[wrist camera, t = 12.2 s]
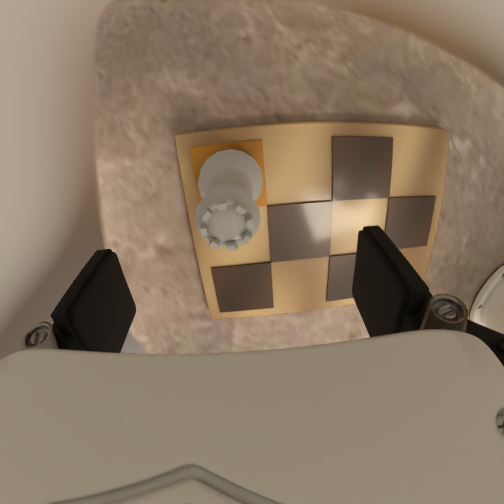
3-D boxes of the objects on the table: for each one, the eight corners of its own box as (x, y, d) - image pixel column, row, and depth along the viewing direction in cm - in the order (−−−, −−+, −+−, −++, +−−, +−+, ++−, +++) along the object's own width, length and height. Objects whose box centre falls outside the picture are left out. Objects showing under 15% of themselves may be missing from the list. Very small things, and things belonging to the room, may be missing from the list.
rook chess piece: (275, 178, 21) (294, 228, 14) (230, 218, 22) (228, 283, 15) (230, 134, 19) (226, 161, 12) (186, 179, 20) (160, 229, 13)
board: (442, 127, 20) (451, 130, 18) (415, 285, 28) (421, 293, 27) (177, 134, 20) (173, 136, 19) (212, 311, 29) (211, 321, 27)
